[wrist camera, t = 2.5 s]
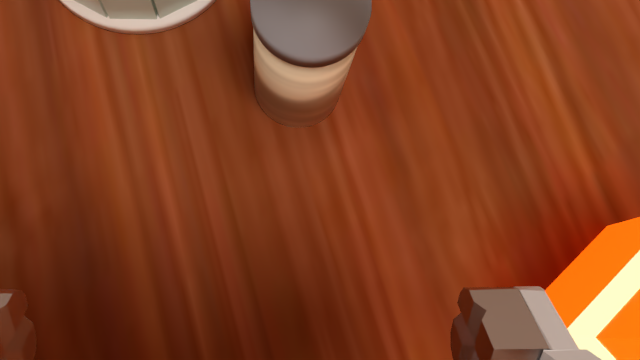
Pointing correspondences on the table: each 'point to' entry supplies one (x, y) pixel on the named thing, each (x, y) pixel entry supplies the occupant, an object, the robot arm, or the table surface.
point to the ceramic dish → (142, 25)
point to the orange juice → (603, 294)
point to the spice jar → (304, 55)
